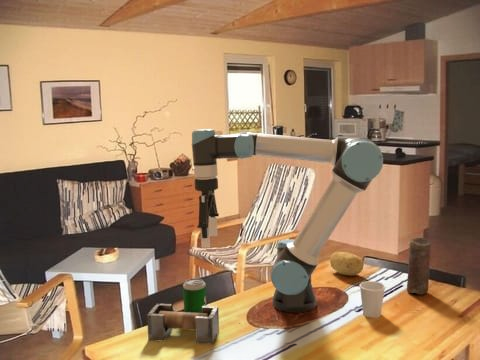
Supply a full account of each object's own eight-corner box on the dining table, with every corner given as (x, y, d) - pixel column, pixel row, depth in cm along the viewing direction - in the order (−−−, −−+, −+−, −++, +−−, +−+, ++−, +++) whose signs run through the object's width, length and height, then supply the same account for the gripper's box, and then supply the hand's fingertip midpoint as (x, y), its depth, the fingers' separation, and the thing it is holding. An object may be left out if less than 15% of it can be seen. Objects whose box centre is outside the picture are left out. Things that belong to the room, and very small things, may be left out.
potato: (344, 281, 196) (345, 258, 195) (327, 270, 210) (327, 248, 208) (367, 278, 199) (367, 255, 198) (348, 267, 213) (348, 245, 212)
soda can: (203, 320, 164) (202, 286, 162) (181, 319, 166) (179, 284, 164) (209, 311, 172) (208, 277, 170) (188, 310, 173) (186, 276, 171)
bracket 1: (148, 339, 152) (147, 315, 151) (158, 327, 160) (156, 303, 159) (164, 341, 151) (162, 315, 150) (173, 328, 160) (171, 304, 158)
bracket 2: (218, 330, 157) (218, 306, 156) (212, 344, 148) (211, 318, 147) (203, 329, 158) (202, 305, 157) (196, 343, 149) (195, 317, 148)
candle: (430, 291, 185) (432, 238, 182) (426, 298, 179) (428, 244, 176) (409, 287, 189) (411, 236, 186) (404, 294, 183) (406, 241, 180)
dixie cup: (389, 313, 167) (390, 284, 165) (377, 321, 161) (377, 292, 159) (366, 306, 172) (367, 279, 171) (354, 314, 166) (354, 286, 165)
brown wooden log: (208, 326, 156) (208, 310, 155) (204, 333, 151) (204, 317, 150) (162, 323, 159) (162, 308, 158) (157, 330, 154) (156, 314, 153)
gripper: (202, 172, 174) (205, 231, 177) (185, 184, 149) (190, 252, 152) (223, 171, 173) (226, 231, 176) (210, 183, 148) (214, 252, 151)
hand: (209, 241), depth 164 cm, fingers open, 13 cm apart
